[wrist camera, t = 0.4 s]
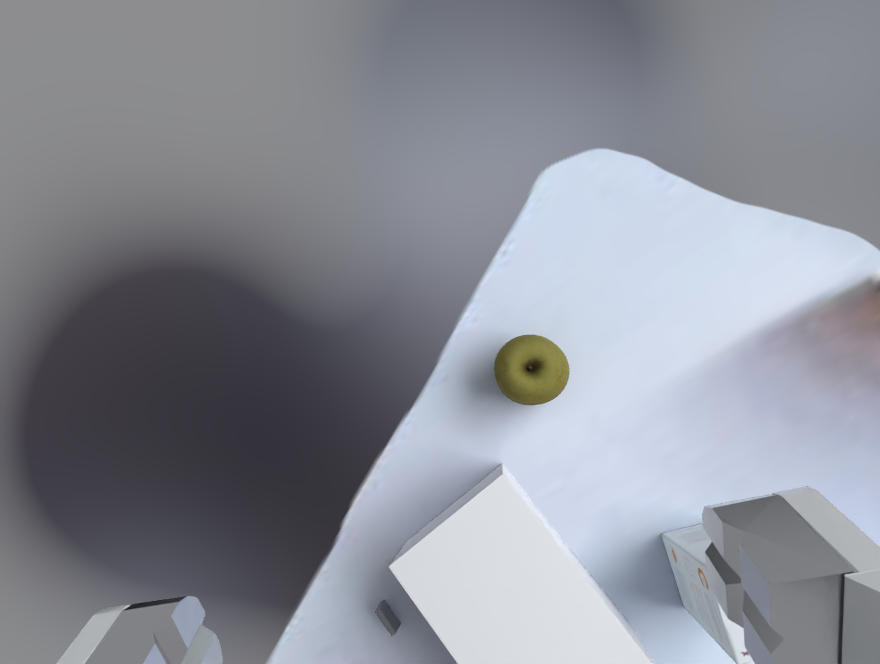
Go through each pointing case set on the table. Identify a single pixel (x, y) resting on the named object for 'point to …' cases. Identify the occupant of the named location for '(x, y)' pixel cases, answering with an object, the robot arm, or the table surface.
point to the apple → (531, 370)
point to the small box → (702, 589)
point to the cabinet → (508, 586)
